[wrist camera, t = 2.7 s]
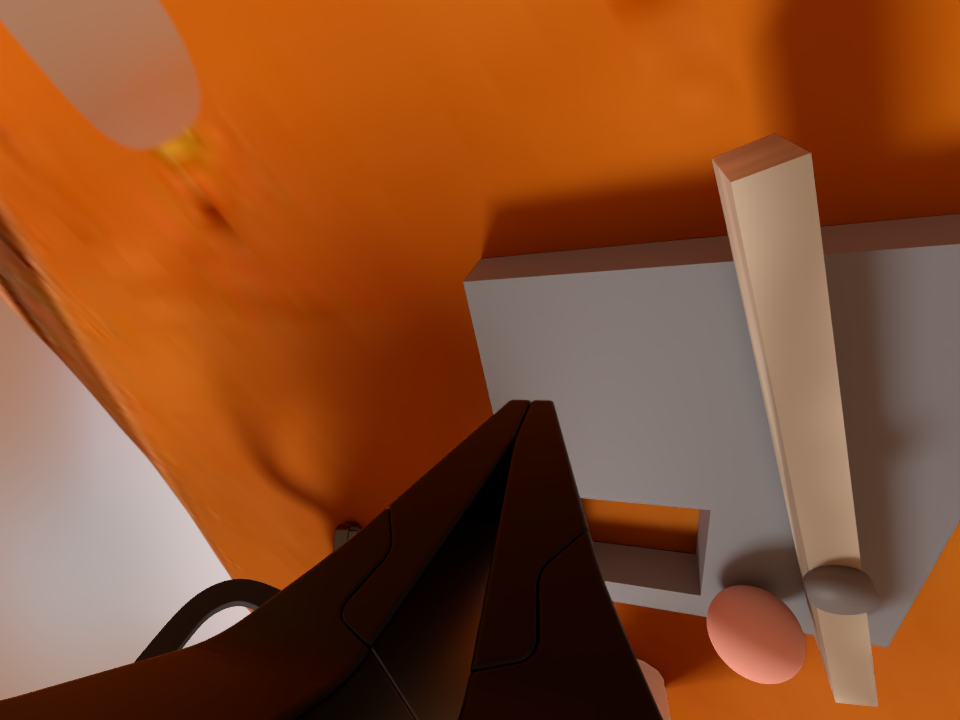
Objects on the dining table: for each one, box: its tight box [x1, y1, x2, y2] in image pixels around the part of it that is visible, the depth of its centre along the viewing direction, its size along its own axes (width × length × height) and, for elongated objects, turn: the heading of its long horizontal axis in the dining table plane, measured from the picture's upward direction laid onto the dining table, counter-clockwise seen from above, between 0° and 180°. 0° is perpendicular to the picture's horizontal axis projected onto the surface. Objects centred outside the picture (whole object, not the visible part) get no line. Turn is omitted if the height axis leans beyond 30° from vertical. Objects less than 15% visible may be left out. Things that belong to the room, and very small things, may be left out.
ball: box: [707, 585, 806, 684], centre depth 21 cm, size 4×4×4 cm
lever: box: [712, 133, 880, 707], centre depth 15 cm, size 2×24×4 cm, turn 27°
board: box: [463, 214, 960, 647], centre depth 20 cm, size 18×21×2 cm
